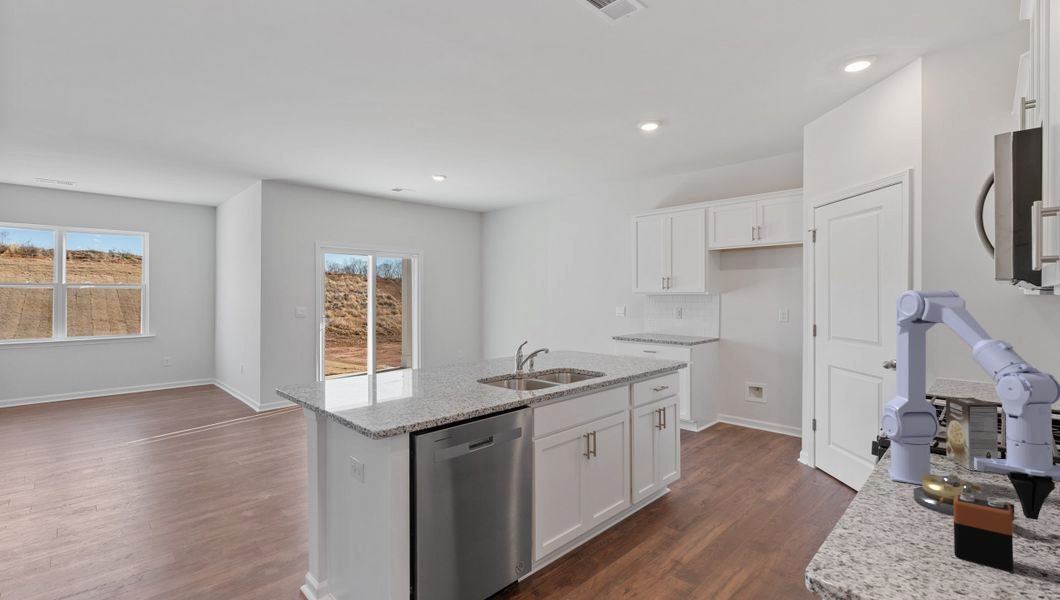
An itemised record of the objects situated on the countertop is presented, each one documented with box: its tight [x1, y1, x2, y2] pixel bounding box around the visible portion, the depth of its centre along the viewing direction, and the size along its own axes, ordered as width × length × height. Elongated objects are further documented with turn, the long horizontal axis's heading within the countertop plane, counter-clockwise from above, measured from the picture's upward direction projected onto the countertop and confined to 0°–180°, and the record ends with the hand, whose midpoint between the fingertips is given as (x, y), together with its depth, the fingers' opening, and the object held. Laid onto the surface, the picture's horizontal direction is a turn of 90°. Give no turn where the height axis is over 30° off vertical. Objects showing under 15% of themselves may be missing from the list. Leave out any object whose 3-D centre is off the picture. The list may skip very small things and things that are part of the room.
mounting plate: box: [913, 486, 954, 517], centre depth 99 cm, size 12×12×2 cm
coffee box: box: [945, 397, 999, 470], centre depth 121 cm, size 9×6×16 cm
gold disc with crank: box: [922, 473, 1015, 522], centre depth 95 cm, size 17×9×4 cm, turn 179°
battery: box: [953, 493, 1014, 572], centre depth 78 cm, size 4×7×10 cm, turn 47°
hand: (1030, 517), depth 87 cm, fingers closed
